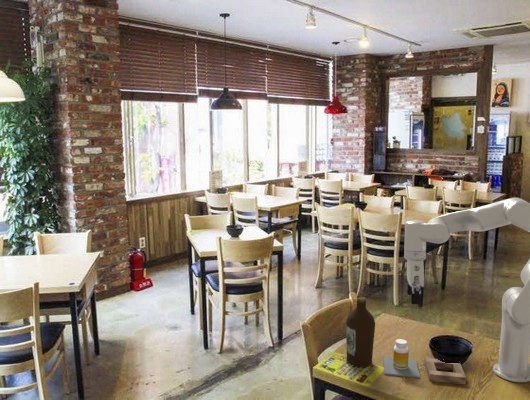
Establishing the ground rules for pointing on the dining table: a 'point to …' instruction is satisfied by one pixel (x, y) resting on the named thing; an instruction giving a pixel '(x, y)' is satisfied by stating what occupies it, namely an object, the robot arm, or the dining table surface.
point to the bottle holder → (440, 376)
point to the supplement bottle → (400, 354)
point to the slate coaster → (409, 372)
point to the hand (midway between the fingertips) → (413, 299)
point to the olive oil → (360, 335)
